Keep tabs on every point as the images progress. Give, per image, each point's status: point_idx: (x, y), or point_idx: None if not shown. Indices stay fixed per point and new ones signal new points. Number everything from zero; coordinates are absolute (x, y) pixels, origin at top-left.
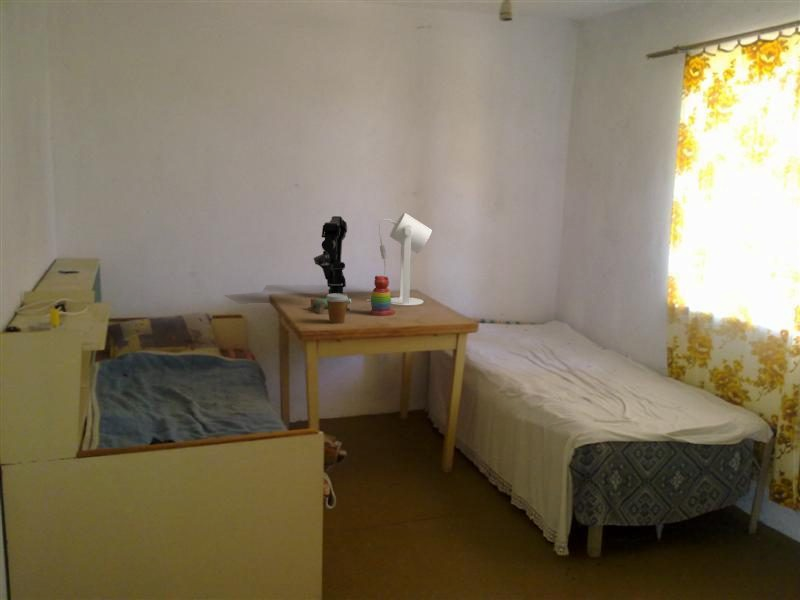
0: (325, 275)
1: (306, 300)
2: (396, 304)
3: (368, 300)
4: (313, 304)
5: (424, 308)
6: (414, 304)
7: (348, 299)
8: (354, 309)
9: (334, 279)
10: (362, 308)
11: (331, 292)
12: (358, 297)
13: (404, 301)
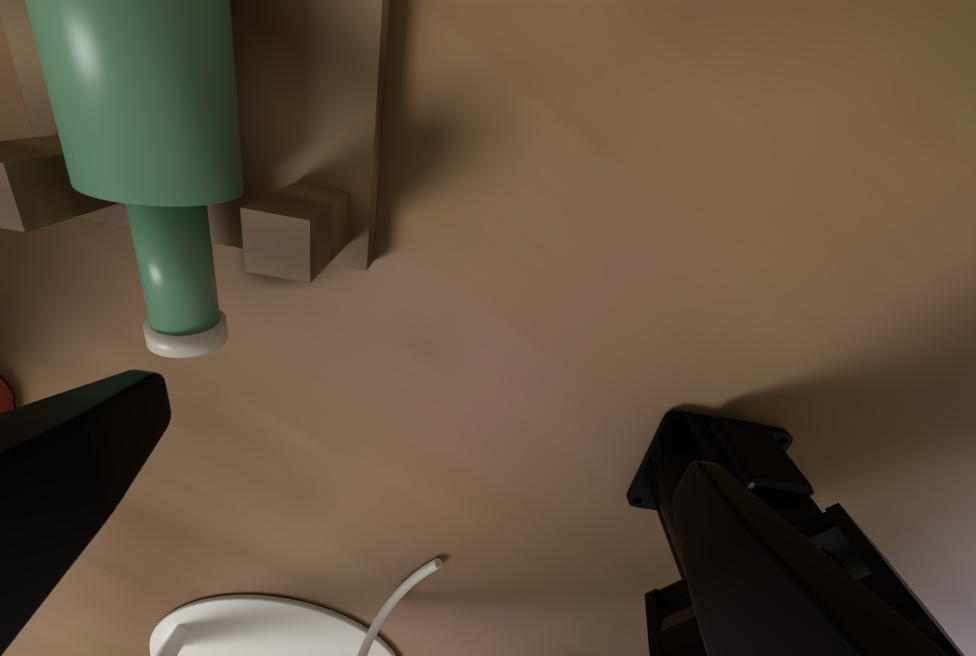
0: (766, 554)
1: (918, 153)
2: (198, 601)
3: (425, 564)
4: None
5: (36, 634)
6: (151, 654)
7: (153, 325)
8: (137, 290)
9: (18, 411)
10: None
11: (735, 461)
12: (584, 582)
13: (162, 649)
